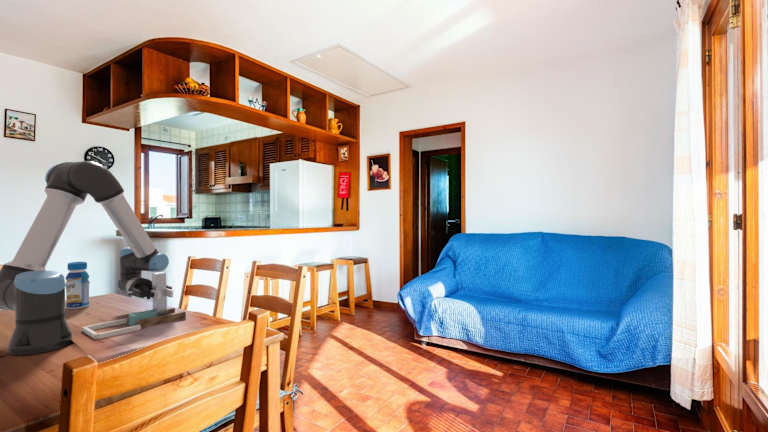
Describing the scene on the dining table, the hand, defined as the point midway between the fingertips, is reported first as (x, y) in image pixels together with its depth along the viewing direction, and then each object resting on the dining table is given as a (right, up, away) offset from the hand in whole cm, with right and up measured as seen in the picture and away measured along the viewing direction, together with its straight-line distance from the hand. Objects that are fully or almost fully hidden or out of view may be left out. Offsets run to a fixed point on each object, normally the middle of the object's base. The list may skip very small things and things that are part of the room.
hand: (165, 294), depth 140 cm
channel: (-5, -12, +2) cm, 13 cm away
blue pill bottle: (-56, -12, +29) cm, 64 cm away
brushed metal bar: (-4, -9, +4) cm, 11 cm away
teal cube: (-9, -10, -3) cm, 14 cm away
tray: (-13, -12, -9) cm, 20 cm away
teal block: (-6, -10, 0) cm, 12 cm away
